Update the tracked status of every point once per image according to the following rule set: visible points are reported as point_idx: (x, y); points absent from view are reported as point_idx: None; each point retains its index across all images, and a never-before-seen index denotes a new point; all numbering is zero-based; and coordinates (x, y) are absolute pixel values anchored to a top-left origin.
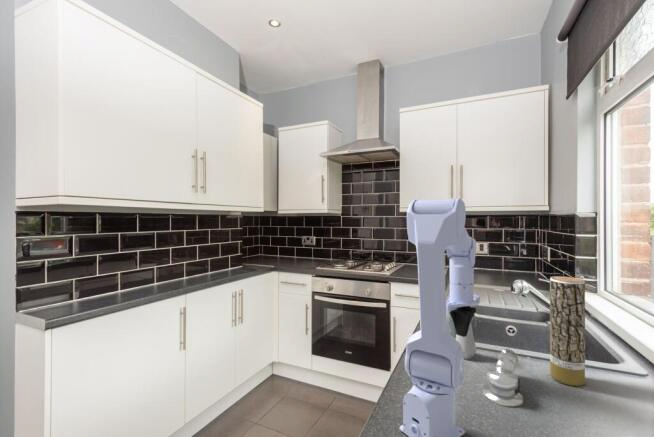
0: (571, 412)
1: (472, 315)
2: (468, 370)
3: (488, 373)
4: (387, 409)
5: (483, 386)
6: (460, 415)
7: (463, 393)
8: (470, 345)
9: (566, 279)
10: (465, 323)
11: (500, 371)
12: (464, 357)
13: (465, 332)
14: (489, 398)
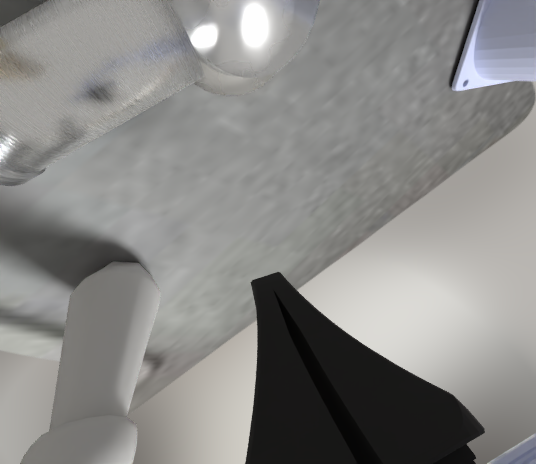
0: None
1: (278, 430)
2: (191, 205)
3: (305, 39)
4: (475, 145)
5: (248, 92)
6: (423, 27)
7: (320, 109)
8: (116, 294)
9: None
10: (333, 333)
11: (232, 7)
12: (142, 268)
13: (284, 287)
14: None
